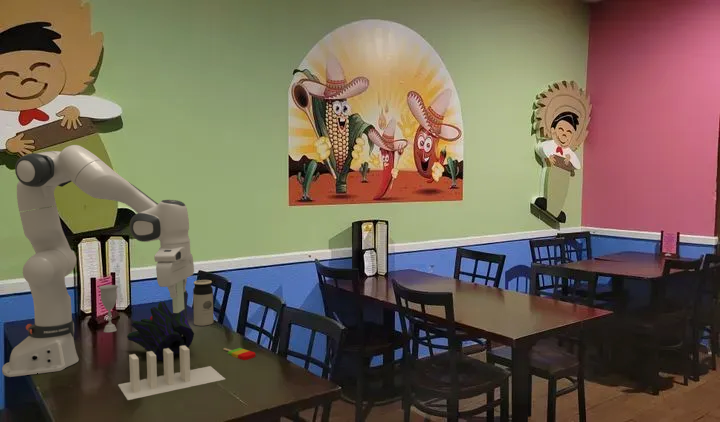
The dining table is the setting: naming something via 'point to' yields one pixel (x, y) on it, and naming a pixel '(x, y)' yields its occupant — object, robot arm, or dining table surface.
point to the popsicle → (241, 353)
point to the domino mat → (196, 378)
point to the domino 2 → (151, 370)
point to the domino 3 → (168, 366)
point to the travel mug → (203, 302)
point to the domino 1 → (134, 373)
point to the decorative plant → (163, 330)
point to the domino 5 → (185, 363)
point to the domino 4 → (178, 298)
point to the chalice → (109, 303)
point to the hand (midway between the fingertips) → (178, 295)
